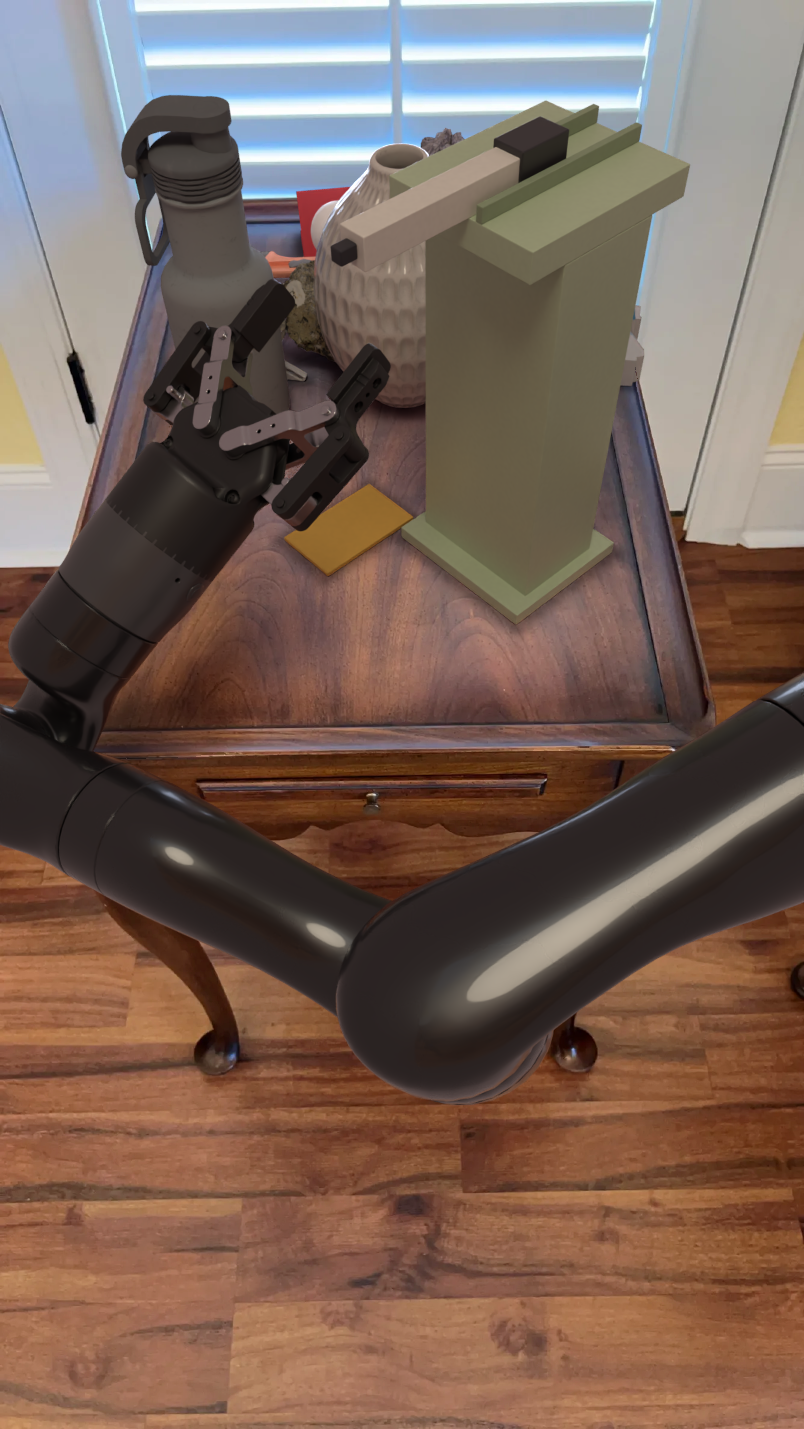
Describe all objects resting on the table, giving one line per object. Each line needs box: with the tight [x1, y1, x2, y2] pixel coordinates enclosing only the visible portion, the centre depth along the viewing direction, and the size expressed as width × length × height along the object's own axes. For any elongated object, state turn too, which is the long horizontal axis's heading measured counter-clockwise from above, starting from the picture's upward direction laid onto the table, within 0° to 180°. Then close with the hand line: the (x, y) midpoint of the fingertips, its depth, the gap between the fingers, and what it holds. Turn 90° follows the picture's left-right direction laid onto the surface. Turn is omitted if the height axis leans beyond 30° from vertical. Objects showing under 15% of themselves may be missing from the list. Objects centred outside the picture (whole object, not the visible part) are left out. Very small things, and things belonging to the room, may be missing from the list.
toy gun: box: [620, 304, 645, 387], centre depth 101 cm, size 3×14×10 cm
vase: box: [314, 142, 429, 409], centre depth 90 cm, size 16×16×22 cm
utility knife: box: [260, 250, 316, 279], centre depth 102 cm, size 4×1×18 cm
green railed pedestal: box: [389, 100, 691, 625], centre depth 73 cm, size 14×14×33 cm
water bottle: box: [120, 94, 291, 414], centre depth 86 cm, size 10×10×28 cm
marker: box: [330, 116, 569, 272], centre depth 56 cm, size 17×2×2 cm, turn 132°
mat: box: [283, 483, 414, 577], centre depth 88 cm, size 10×6×1 cm, turn 132°
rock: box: [282, 260, 336, 363], centre depth 99 cm, size 6×9×10 cm
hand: (331, 320), depth 56 cm, fingers open, 8 cm apart
